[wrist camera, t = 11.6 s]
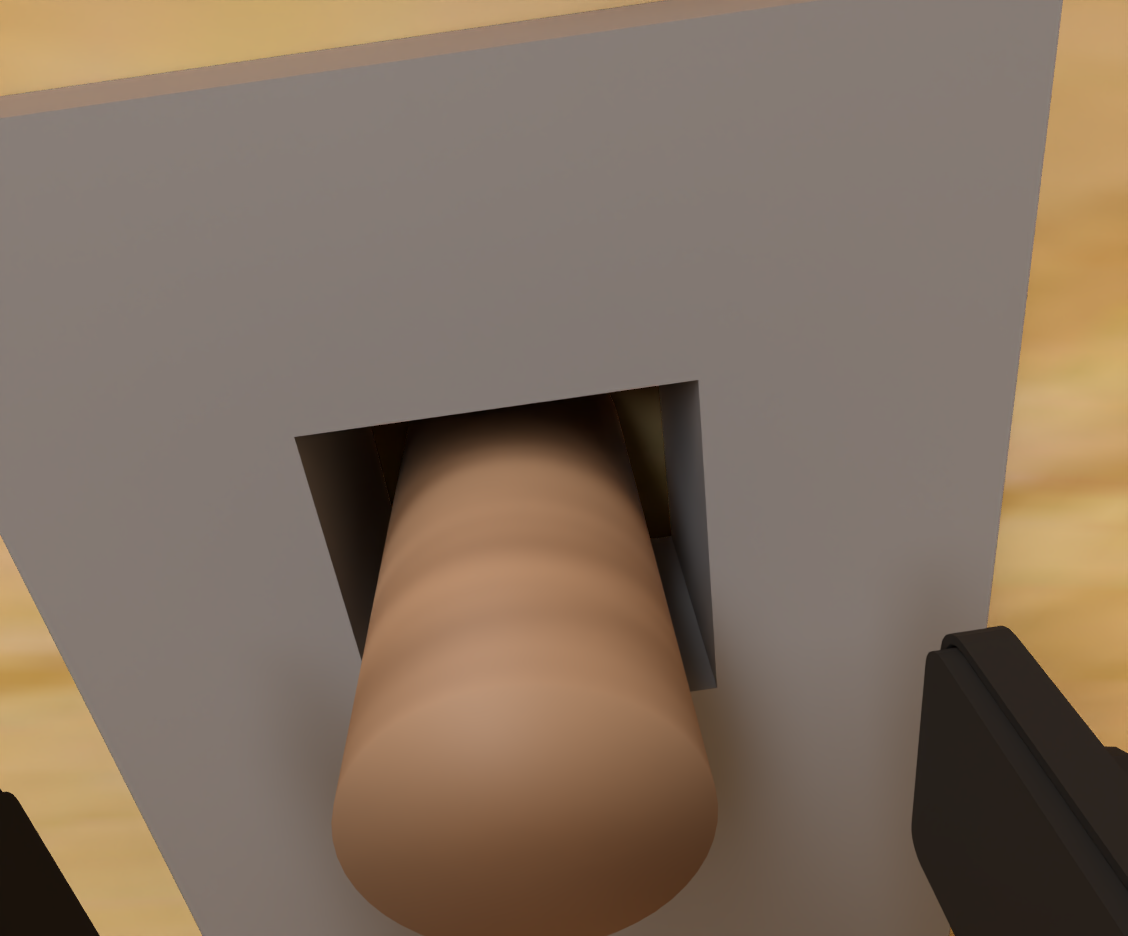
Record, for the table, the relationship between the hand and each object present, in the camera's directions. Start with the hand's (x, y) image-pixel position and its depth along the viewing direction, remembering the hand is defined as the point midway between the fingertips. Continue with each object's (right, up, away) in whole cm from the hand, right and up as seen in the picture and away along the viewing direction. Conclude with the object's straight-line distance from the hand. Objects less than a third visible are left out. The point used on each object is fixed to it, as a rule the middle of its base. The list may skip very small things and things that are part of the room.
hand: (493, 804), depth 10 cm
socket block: (0, +1, +9) cm, 9 cm away
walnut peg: (0, +4, +8) cm, 9 cm away
